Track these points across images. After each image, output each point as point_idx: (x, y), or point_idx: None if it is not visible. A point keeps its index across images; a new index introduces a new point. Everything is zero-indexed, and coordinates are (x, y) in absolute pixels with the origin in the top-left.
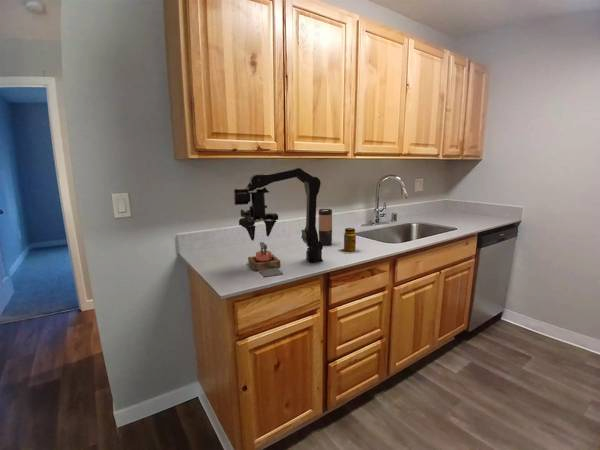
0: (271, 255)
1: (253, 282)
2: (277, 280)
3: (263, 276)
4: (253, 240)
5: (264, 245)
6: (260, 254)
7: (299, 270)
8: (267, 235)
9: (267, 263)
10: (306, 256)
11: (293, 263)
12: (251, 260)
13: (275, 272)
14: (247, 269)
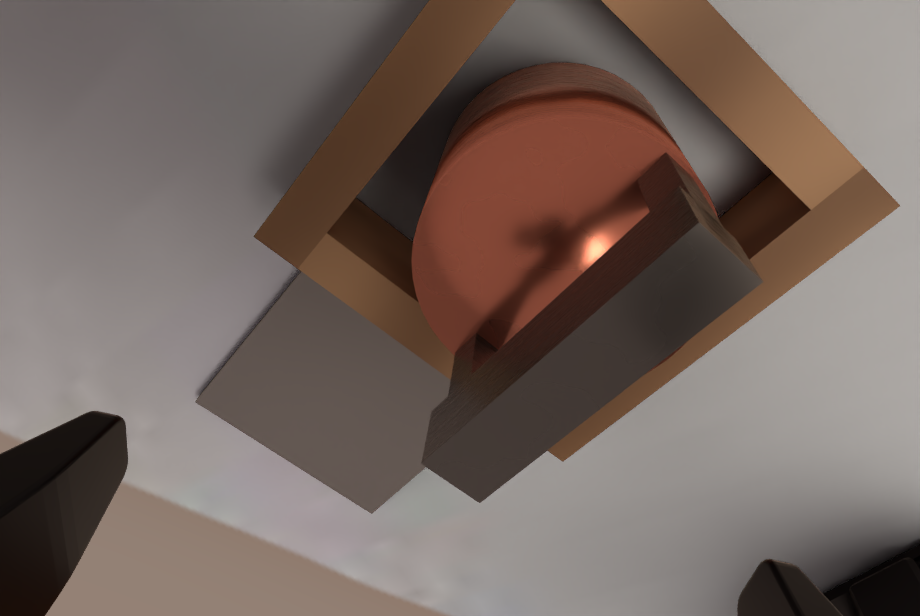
0: (799, 231)
1: (40, 375)
2: (223, 519)
3: (203, 391)
4: (121, 463)
5: (455, 466)
6: (442, 277)
7: (548, 576)
8: (755, 600)
9: (423, 351)
10: (917, 593)
11: (756, 464)
12: (389, 73)
13: (358, 445)
14: (284, 63)
